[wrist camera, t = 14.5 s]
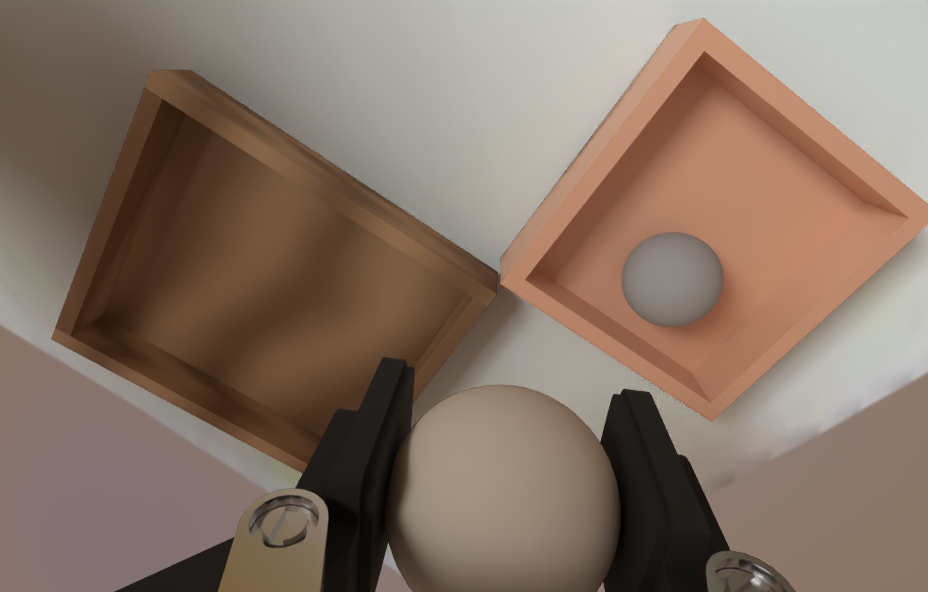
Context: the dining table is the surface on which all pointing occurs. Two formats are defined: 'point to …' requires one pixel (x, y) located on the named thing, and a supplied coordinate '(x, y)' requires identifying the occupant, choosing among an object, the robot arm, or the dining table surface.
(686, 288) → the grey ball
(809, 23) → the dining table surface
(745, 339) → the terracotta dish
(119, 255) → the walnut tray
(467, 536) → the beige ball
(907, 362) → the dining table surface
